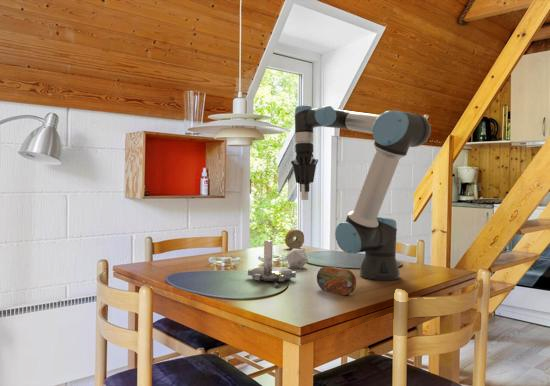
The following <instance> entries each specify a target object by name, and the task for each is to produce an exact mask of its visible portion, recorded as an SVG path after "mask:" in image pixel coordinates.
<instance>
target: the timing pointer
mask: <svg viewBox="0 0 550 386" xmlns="http://www.w3.org/2000/svg"><path fill="white" fill-rule="evenodd" d="M274 285H275V286H276V287H279V288H280V284H279V283H278V281H274V282H273V286H274ZM275 286H274V287H275Z"/></svg>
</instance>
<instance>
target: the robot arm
mask: <svg viewBox="0 0 550 386" xmlns="http://www.w3.org/2000/svg"><path fill="white" fill-rule="evenodd" d="M318 127H319V128H320V127H323V128H325V127H326V128H335V129H342V130H348V131H354V132H361V133H366V134H372V137H373V139H374V142H373V147H374V148H375V151H374V155H373V158H372V161H371V163H370V166H369V168H368V171H367V174H366V177H365V180H364V182H363V185H362V187H361V191H360V193H359V195H358V199H357V201H356V204H355V205H354V206H355V207H354V208H353V209H354V210H352V211H351V210H350V211H349V212H348V213H347V216H346V218H345V221H341V222H339V223H338V224H337V226H336V228H335V232H334V235H335V237H334V238H335V241H336V243H337V246H338V248H340V250H342V251H343V252H344V253H346V254H359V253H364V257H363V260H362V263H361V267H360V268H359V276H360V277H362V278H365V279H367V280H369V279H370V280H375V281H395V280H399V279H400V274H401V273H400V269H399V265H398V261H397V258H396V255H397V254H396V250H397V231H398V228H397V221H396V220H395V219H394V218H388V217H386V218H385V217H378V216H379V213H380V210H381V208H382V205H383V202H384V200H385V197H386V195H387V193H388V190H389V187H390V185H391V183H392V180H393V177H394V175H395V172H396V170H397V167H398V164H399V163H400V160H401V159H402V158H403V157H406V156H407V155H408V152H409V149H410V148H415V147H419V146H422V145H423V144H425V143H427V141H428V139H430V137H431V133H432V129H431V124H430V121H429V120H428V118H427V117H425V116H423V115H422V114H419V113H414V112H413V113H412V112H407V111H402V110H387V111H384V112H382V113H380V114H374V113H366V112H360V111H359V112H358V111H351V110H345V109H344V110H343V109H338V108H337V109H336V108H333V106H331V105H326V106H325V105H322V106H319V107H316V108H313V106H312V105H308V104H307V105H299V106H296V107H295V108H294V143H295V144H294V148H295V150H294V151H295V155H296V156H295V159H294V160H291V161H290V163H291V165H292V167H293V173H294V177H295V182H296V183H298V184H299V188H300V189H299V191H300V194H301V195H300V197H301V201H308V200H309V192H310V184H311V183H314V180H315V174H316V169H317V164H318V162H319V159H317V158H315V157H314V155H313V153H314V129H315V128H318Z"/></svg>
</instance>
